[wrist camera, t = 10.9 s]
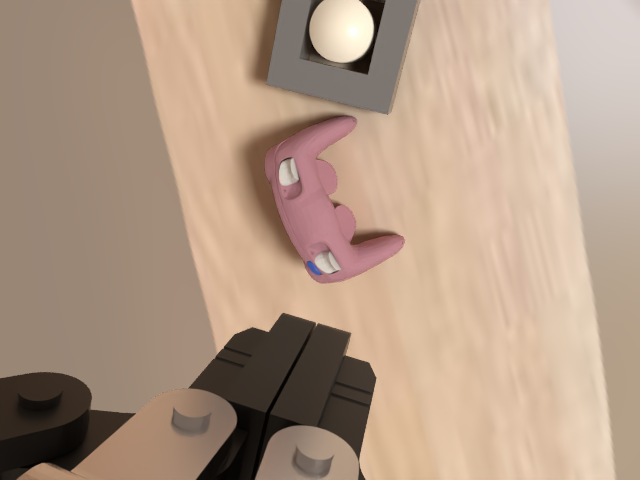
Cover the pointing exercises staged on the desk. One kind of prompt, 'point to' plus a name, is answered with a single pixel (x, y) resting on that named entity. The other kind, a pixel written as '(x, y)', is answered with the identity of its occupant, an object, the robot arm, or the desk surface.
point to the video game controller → (320, 206)
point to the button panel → (334, 82)
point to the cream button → (342, 30)
